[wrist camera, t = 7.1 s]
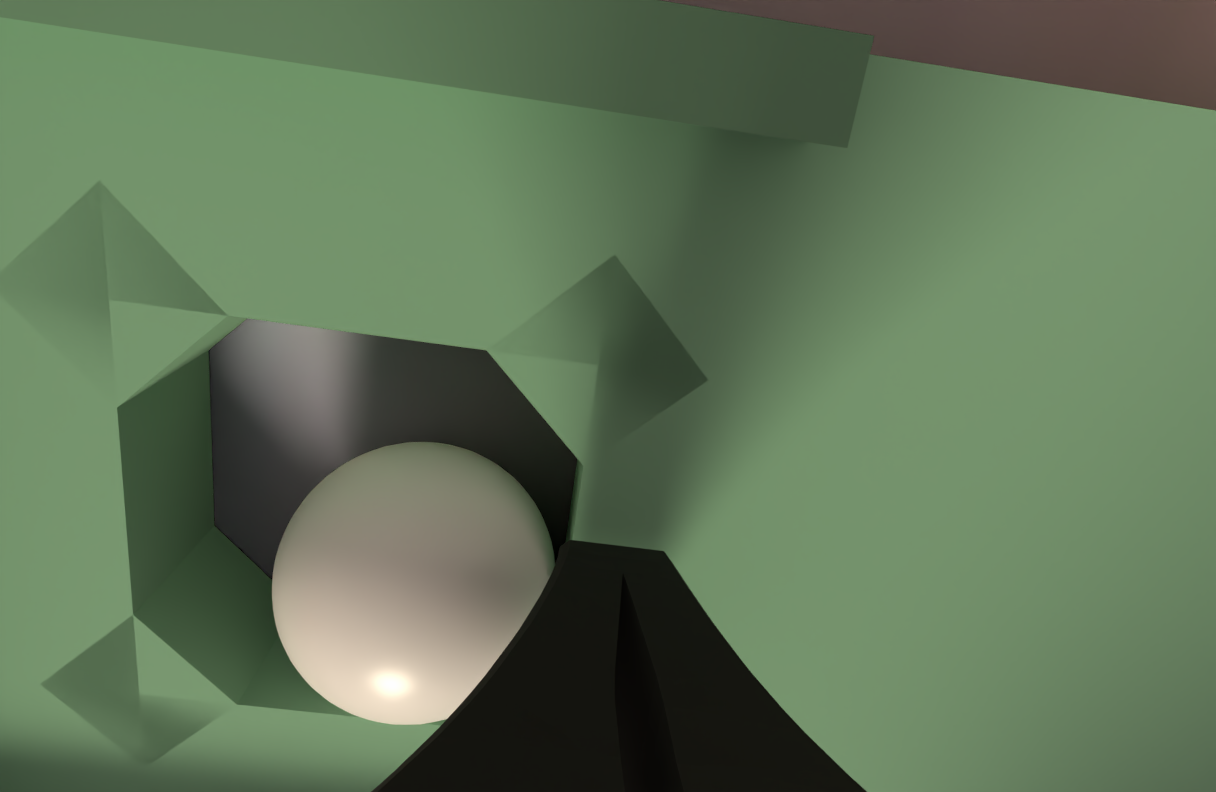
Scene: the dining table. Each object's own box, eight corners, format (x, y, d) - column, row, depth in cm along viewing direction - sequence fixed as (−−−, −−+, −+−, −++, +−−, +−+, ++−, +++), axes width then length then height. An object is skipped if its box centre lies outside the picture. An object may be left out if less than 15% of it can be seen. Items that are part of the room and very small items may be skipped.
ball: (531, 749, 12) (289, 830, 9) (419, 576, 15) (196, 596, 12) (653, 557, 11) (421, 579, 8) (510, 402, 14) (288, 375, 11)
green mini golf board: (1449, 887, 17) (1734, 1148, 13) (9, 746, 15) (-221, 998, 11) (1911, 243, 12) (2618, 316, 8) (-117, -85, 10) (-622, -220, 6)
